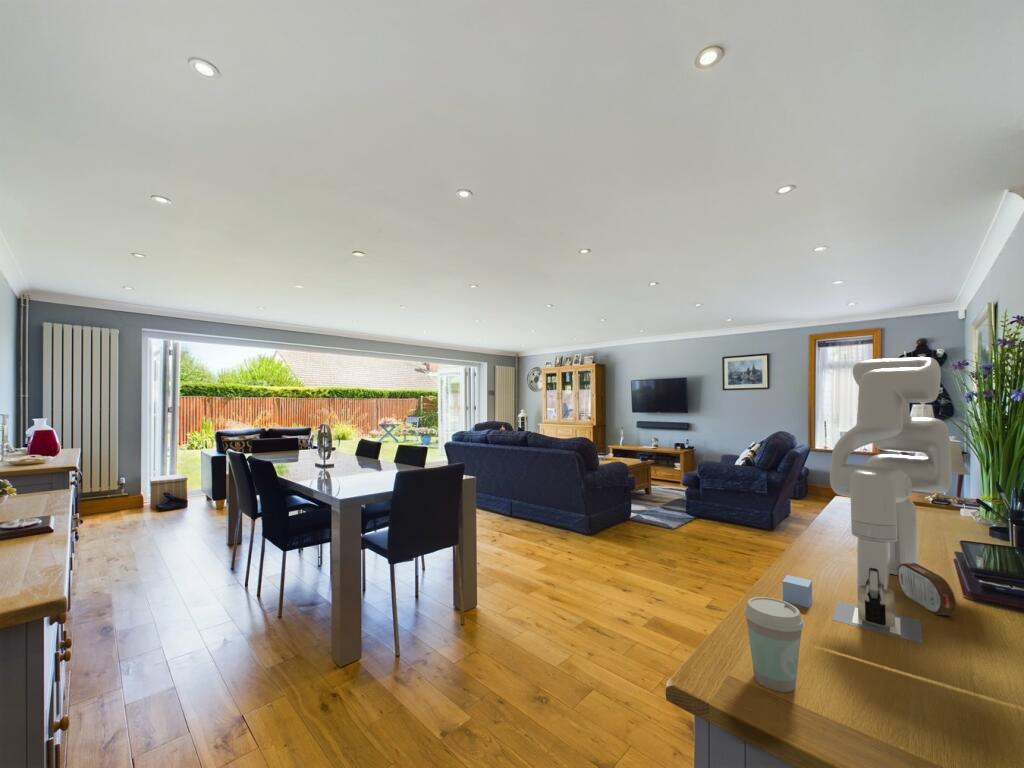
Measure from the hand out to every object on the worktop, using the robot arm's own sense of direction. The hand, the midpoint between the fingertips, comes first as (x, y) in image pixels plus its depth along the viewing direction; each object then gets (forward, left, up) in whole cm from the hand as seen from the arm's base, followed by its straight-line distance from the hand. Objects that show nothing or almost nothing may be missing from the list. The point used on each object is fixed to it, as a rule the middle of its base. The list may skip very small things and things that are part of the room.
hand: (876, 615), depth 93 cm
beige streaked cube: (0, 0, -1) cm, 1 cm away
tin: (-17, +8, -2) cm, 19 cm away
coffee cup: (+37, -12, -2) cm, 39 cm away
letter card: (0, 0, -1) cm, 1 cm away
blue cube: (0, -14, -2) cm, 14 cm away
